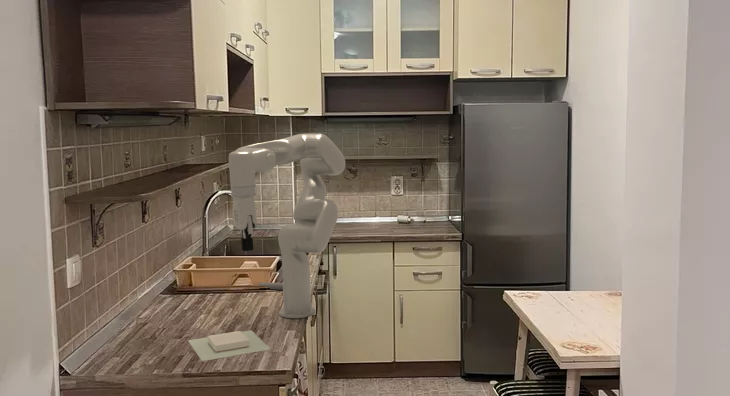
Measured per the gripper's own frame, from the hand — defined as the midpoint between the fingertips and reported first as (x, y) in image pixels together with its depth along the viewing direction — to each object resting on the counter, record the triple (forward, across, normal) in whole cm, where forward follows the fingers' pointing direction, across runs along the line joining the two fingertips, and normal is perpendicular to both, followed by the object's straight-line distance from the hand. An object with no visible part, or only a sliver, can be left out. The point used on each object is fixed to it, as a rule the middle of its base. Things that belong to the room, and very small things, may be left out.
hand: (247, 250), depth 203 cm
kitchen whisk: (+30, -44, +29) cm, 61 cm away
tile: (+25, +2, -10) cm, 27 cm away
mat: (+27, +7, -10) cm, 29 cm away
